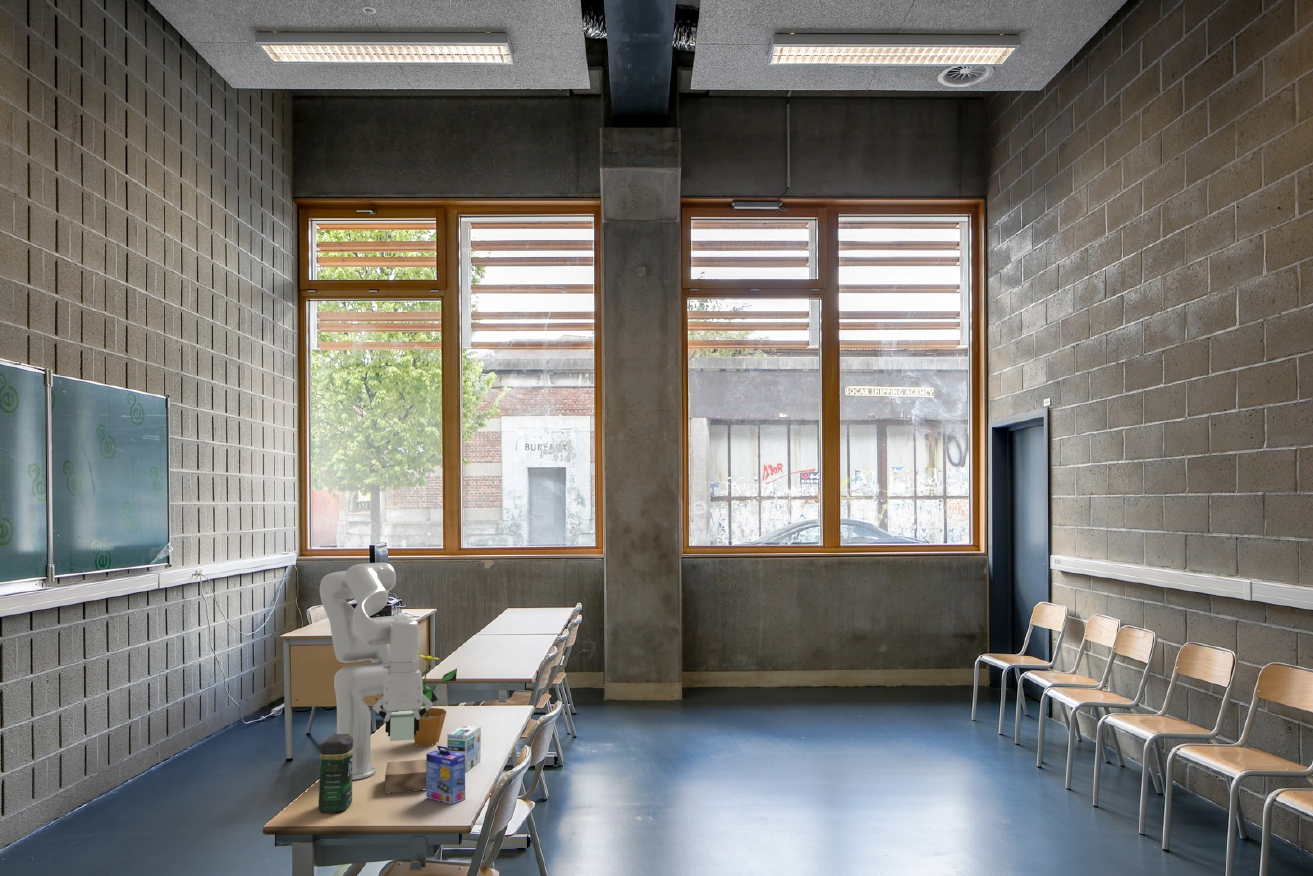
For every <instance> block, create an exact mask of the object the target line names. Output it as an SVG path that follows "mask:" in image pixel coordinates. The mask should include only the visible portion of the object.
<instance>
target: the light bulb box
mask: <svg viewBox="0 0 1313 876" xmlns="http://www.w3.org/2000/svg"><path fill="white" fill-rule="evenodd" d="M481 729H482V727H481V726H473V725H460V726H459V727H457V728H456V729H453V730H452V731H451V732H449V733H448V734H447V735H446V736H447V739H446V740H447V742H446V743H447V744H446V745H447V746H446V747H447V748H448V750H449V751H450V752H457V753H462V754H464V755H465V772H469V771H470V770H471V769H472V768H475V766H477V765H478V764H479V763H481V756H482V755H481V754H482V753H481V746H482V745H481V744H482V742H481V739H482V737H481V735H482V731H481ZM469 769H470V770H469Z"/></svg>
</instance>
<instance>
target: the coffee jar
mask: <svg viewBox="0 0 1313 876" xmlns="http://www.w3.org/2000/svg"><path fill="white" fill-rule="evenodd" d="M352 761H353V738H352V737H351V736H350V735H349V734H337V733H333V735H331V736H329V737H327V738H326V739H324V740H323V741H322V742H321V743H320V747H319V783H318V784H319V785H318V805H317V806H318V811H320V812H324V813H327V814H335V813H337V812H344V811H346V810H347V809H348V808H349V807H350V806H351V804H352V802H353V780H352Z"/></svg>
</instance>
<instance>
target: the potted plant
mask: <svg viewBox="0 0 1313 876" xmlns="http://www.w3.org/2000/svg"><path fill="white" fill-rule="evenodd" d="M418 657H421V658H423V659H424V660H425V661H426V663H427V664H426V669H425V674H424V679H422V687H423V694H424V695H425V696H426V697H427V698H428V699H429V700H430V701H431V702H432V703H435V702H437V701H439V699H438V697H437V696H436V694H435V691H434V689H435V688H436V687H437V686H438V685H440V683H441V682H456V681H457V672H458V668H457V667H456V668H455V669H452V670H451V671H449V672H447V673H445V674H443V676H442V678H441V680H440V681H439V682H438V683H436V684H435V685H434V687H432V688H431V687H429V686H428V685H426V679H427V672H428V665H429V663H430V662H432V661H434V660H438V661H441V659H442V658H441V657H436V656H432V655H427V654H420V653H418ZM425 705H426V704H425V703H424V702H422V707H424V706H425ZM421 709H422V708H420V709H419V711H420V710H421ZM446 715H447V711H446V710H445V709H444V708H439V707H431V708H430V709H429V710H427V711H426V713H425V714H424V715H423V716H422V717H421V718H420V719H419V731H417V732H416V735H414V740H413V741H414V743H415V744H417V745H416V746H418V745H419V746H418V747H429V746H428V745H432V744H435V745H437V744H438V743H439V741H440V737H441V734H442V730H443V727H444V723H445V720H446ZM414 718H415V715H414ZM437 742H438V743H437ZM436 743H437V744H436ZM432 746H433V745H432Z"/></svg>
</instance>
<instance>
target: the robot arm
mask: <svg viewBox="0 0 1313 876" xmlns="http://www.w3.org/2000/svg"><path fill="white" fill-rule="evenodd" d="M396 583H397V574H396V571H395V569H394V567H393V566H392V564H390V563H387V562H370V563H369V562H367V563H358V564H354V565H352V566H350V567H349V568H348V569H346V570H340V571H336V572H335V571H334V572H330V573H328V574H326V575H325V576H323V577H322V579H321V580H320V584H319V595H320V601H321V604H322V607H323V608H324V612H325V614H326V616H327V618H328V621H329V627H330V633H331V639H332V646H333V650H334V651H333V652H334V655H335V659H336V660H337V661H338V662H340V663H345V664H346V663H355V662H362V661H371V662H370V663H362V664H361V663H360V664H355V665H349V666H343V668H340V669H339V670H338V671H337V672H336V673H335V675H334V678H333V680H334V681H333V683H334V684H333V685H334V692H335V699H336V701H335V702H336V734H349V735H350V736H351V737H352V738H353V761H352V781H356V780H360V779H361V780H362V779H365V778H369V777H370V776H373V775H374V774H375V773H376V769H377V768H376V767H375V765H373V764H371V739H372V738H371V736H372V735H371V731H372V729H371V728H372V722H371V721H372V714H371V710H370V707H369V706H368V705H367V703H366V702H365V701H364V700H363V699H364V698H367V697H373V696H378V695H383V696H382V697H380V699H378V700H377V701H376V702H375V704H373V707H372V709H373V711H375V712H376V714H378V716H380V717H381V718H382V719H383V720H384V721H385V729H384V733H387V737H389V738H390V721H391V714H392V712H407V711H413V712H414V715H415V718H414V735H416V732H417V731H419V719H420V718H421V717H422V716H423V715H424V714H425V713H426V711H427V710H429V709H430V708H433V702H431V701H430V700H429V699H428V698H427V697H426V696H425V695H424V694H423V693H424V689H423V685H422V684H423V682H422V680H423V677H422V672H421V670H420V669H419V656H418V654H419V639H420V635H419V634H420V633H419V632H420V629H419V627H420V626H419V625H420V624H419V623H418V621H417V620H414V619H411V618H410V617H409V616H408V615H403V614H400V615H399V614H398V615H389V616H387V615H386V616H377V617H371V616H373V615H375V614H377V613H379V612H380V611H382V610H383V609H384V608H385V606H386V605H387V603H388V602H389V593H388V592H390V591H391V590H392V589H394V587H395V585H396ZM349 599H350V600H351V599H355V601H356V603H357V604H356V606H355V607H353V606H352V604H350V603H349V602H347V601H346V600H349ZM422 702H424V703H425V704H426V705H425V706H423V705H422ZM381 706H382V707H383V709H382V708H381ZM419 709H421V710H420V711H419Z"/></svg>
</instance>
